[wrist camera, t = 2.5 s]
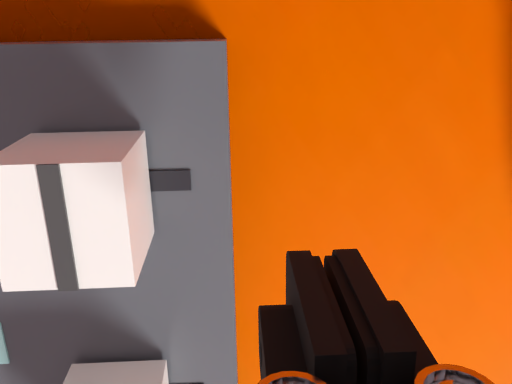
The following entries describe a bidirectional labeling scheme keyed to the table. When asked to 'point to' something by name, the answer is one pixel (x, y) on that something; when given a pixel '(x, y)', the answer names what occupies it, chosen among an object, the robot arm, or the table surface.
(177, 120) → the console
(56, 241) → the fader
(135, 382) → the fader
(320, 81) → the table surface
